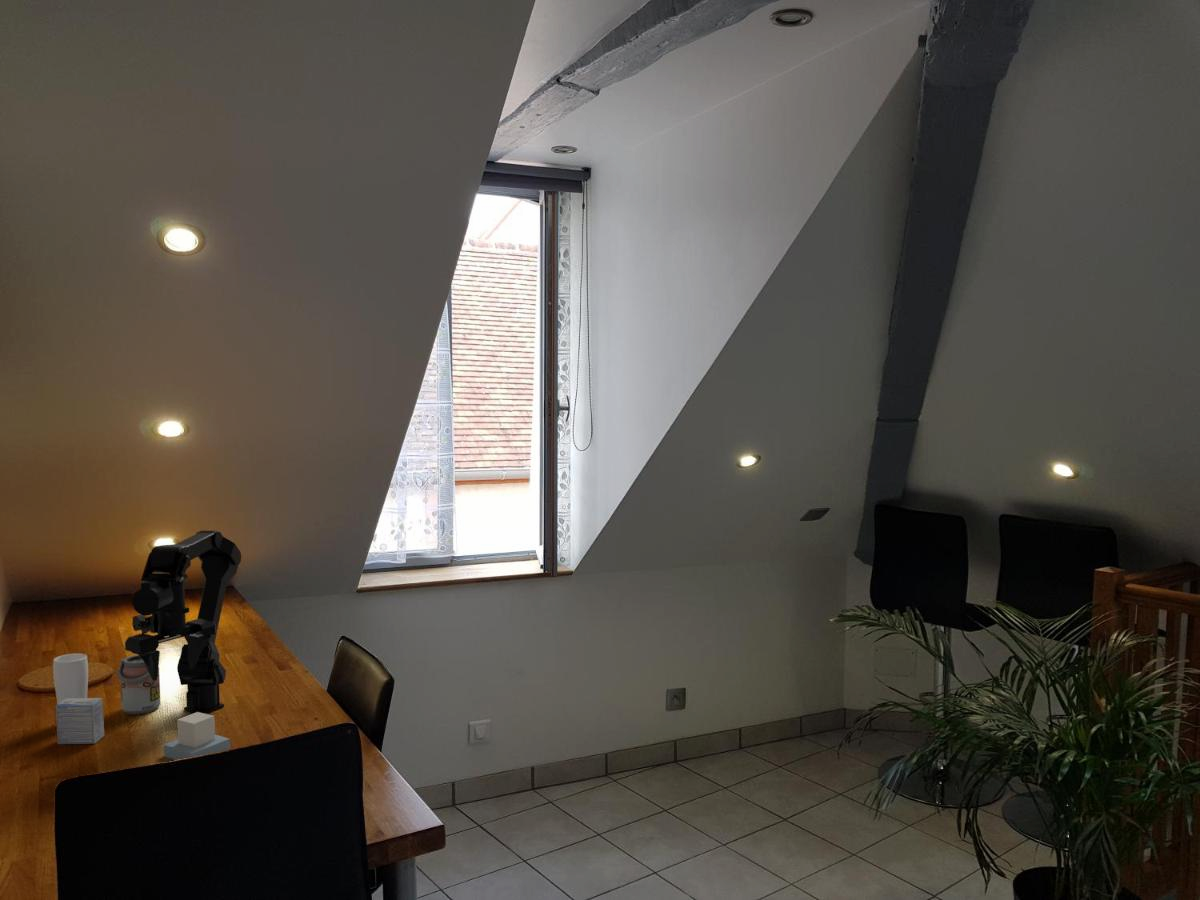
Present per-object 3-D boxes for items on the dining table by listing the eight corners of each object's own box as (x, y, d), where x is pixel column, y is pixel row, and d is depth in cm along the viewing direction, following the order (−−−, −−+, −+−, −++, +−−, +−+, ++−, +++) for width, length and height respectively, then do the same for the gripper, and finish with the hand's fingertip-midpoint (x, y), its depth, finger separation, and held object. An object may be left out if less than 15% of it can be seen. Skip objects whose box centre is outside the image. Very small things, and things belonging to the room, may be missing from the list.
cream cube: (198, 735, 205) (197, 711, 205) (215, 739, 203) (214, 715, 202) (178, 743, 201) (177, 719, 200) (195, 747, 199) (194, 723, 198)
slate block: (201, 744, 208) (201, 730, 208) (230, 752, 204) (229, 738, 203) (163, 758, 201) (163, 744, 200) (192, 768, 196) (191, 753, 196)
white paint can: (151, 716, 223) (149, 664, 222) (113, 717, 222) (111, 665, 221) (166, 702, 232) (164, 652, 231) (129, 703, 231) (127, 653, 230)
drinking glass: (86, 727, 216) (83, 660, 215) (52, 730, 214) (49, 663, 213) (93, 716, 223) (90, 652, 221) (60, 719, 221) (56, 654, 219)
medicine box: (105, 736, 211) (103, 697, 210) (95, 744, 207) (93, 704, 206) (67, 737, 211) (65, 697, 210) (57, 745, 206) (55, 704, 206)
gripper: (184, 590, 224) (186, 657, 226) (107, 608, 208) (110, 680, 210) (216, 596, 219) (218, 665, 220) (140, 615, 203) (143, 688, 204)
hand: (173, 674), depth 213 cm, fingers open, 9 cm apart
